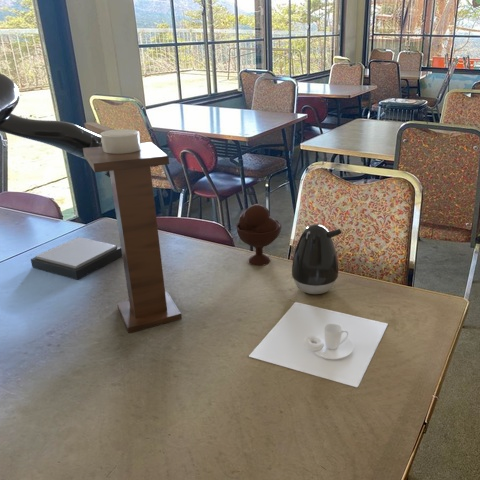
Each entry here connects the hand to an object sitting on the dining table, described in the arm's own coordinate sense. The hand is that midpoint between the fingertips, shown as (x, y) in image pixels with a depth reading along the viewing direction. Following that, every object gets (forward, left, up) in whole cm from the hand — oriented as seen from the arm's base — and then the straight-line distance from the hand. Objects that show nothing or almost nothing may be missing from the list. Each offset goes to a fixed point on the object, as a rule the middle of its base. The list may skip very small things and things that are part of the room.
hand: (127, 151), depth 101 cm
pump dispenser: (+39, -12, -28) cm, 50 cm away
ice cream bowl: (+27, +3, -28) cm, 39 cm away
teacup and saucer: (+38, -31, -28) cm, 56 cm away
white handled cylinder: (0, -11, +4) cm, 11 cm away
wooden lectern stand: (+4, -17, -28) cm, 33 cm away
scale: (-16, +6, -28) cm, 33 cm away
